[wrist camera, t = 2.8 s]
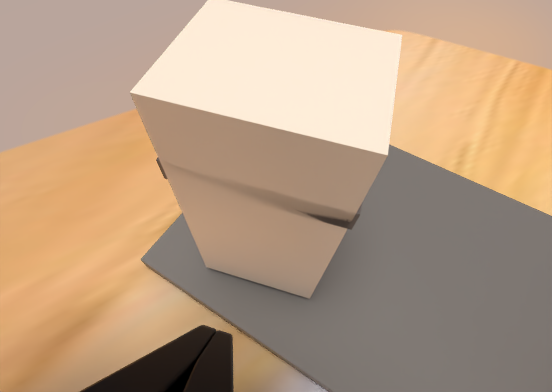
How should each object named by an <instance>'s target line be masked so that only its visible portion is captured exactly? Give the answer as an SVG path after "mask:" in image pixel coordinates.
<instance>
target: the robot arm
mask: <svg viewBox="0 0 552 392" xmlns="http://www.w3.org/2000/svg"><path fill="white" fill-rule="evenodd" d="M80 392H233V339H232V335H231V334H229V333H226V332H223V331H220V330H219V331H217V332H216V329H214V328H211V327H208V326H205V325H201V326H199V327H197V328H195V329H193V330H191V331H190V332H188V333H186V334H184V335H182V336H180V337H179V338H177V339H175V340H173V341H171V342H169V343H168V344H166V345H164V346H162V347H160V348H158V349H157V350H155V351H153V352H151V353H149V354H147V355H146V356H144V357H142V358H140V359H138V360H136V361H135V362H133V363H131V364H129V365H127V366H125V367H124V368H122V369H120V370H118V371H116V372H114V373H113V374H111V375H109V376H107V377H105V378H103V379H102V380H100V381H98V382H96V383H94V384H92V385H91V386H89V387H87V388H85V389H83V390H82V391H80Z"/></svg>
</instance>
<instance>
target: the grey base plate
mask: <svg viewBox="0 0 552 392" xmlns="http://www.w3.org/2000/svg"><path fill="white" fill-rule="evenodd" d="M141 261H142V262H143V263H144V264H145V265H146V266H147V267H148V268H150V269H151V270H153V271H154V272H156V273H157V274H159V275H160V276H162V277H163V278H164V279H166V280H167V281H169V282H170V283H172V284H173V285H175V286H176V287H178V288H179V289H180V290H182V291H183V292H185V293H186V294H188V295H189V296H191V297H192V298H194V299H195V300H196V301H198V302H199V303H201V304H202V305H204V306H205V307H207V308H208V309H210V310H211V311H212V312H214V313H215V314H217V315H218V316H220V317H221V318H223V319H224V320H226V321H227V322H228V323H230V324H231V325H233V326H234V327H236V328H237V329H239V330H240V331H242V332H243V333H244V334H246V335H247V336H249V337H250V338H252V339H253V340H255V341H256V342H258V343H259V344H260V345H262V346H263V347H265V348H266V349H268V350H269V351H271V352H272V353H274V354H275V355H276V356H278V357H279V358H281V359H282V360H284V361H285V362H287V363H288V364H290V365H291V366H292V367H294V368H295V369H297V370H298V371H300V372H301V373H303V374H304V375H306V376H307V377H308V378H310V379H311V380H313V381H314V382H316V383H317V384H319V385H320V386H322V387H323V388H324V389H326V390H327V391H329V392H552V216H550V215H548V214H546V213H543V212H541V211H539V210H537V209H534V208H532V207H530V206H528V205H525V204H523V203H521V202H518V201H516V200H514V199H512V198H509V197H507V196H505V195H503V194H500V193H498V192H496V191H494V190H491V189H489V188H487V187H484V186H482V185H480V184H478V183H475V182H473V181H471V180H469V179H466V178H464V177H462V176H459V175H457V174H455V173H453V172H450V171H448V170H446V169H444V168H441V167H439V166H437V165H435V164H432V163H430V162H428V161H425V160H423V159H421V158H419V157H416V156H414V155H412V154H410V153H407V152H405V151H403V150H401V149H398V148H396V147H394V146H391V145H389V149H388V156H387V158H386V159H385V161H384V163H383V165H382V167H381V169H380V170H379V172H378V174H377V176H376V178H375V180H374V182H373V183H372V185H371V187H370V189H369V191H368V193H367V194H366V196H365V198H364V200H363V202H362V207H361V213H360V216H359V218H358V220H357V221H356V223H355V225H354V227H353V228H352V230H350V229H347V231H346V233H345V235H344V237H343V238H342V240H341V242H340V244H339V246H338V248H337V249H336V251H335V253H334V255H333V257H332V259H331V260H330V262H329V264H328V266H327V268H326V270H325V271H324V273H323V275H322V277H321V279H320V281H319V282H318V284H317V286H316V288H315V290H314V292H313V293H312V295H311V297H310V299H309V298H305V297H302V296H299V295H296V294H292V293H289V292H286V291H283V290H279V289H276V288H273V287H270V286H266V285H263V284H260V283H257V282H253V281H250V280H247V279H243V278H240V277H237V276H234V275H230V274H227V273H224V272H221V271H217V270H214V269H211V268H208V267H206V265H205V263H204V261H203V258H202V256H201V254H200V252H199V249H198V247H197V245H196V242H195V240H194V238H193V236H192V233H191V231H190V229H189V226H188V224H187V222H186V220H185V217H184V215H183V213H182V214H181V215H180V216H179V217H178V218H177V220H176V221H175V222H174V223H173V224H172V225H171V226H170V227H169V228H168V229H167V231H166V232H165V233H164V234H163V235H162V236H161V237H160V238H159V239H158V241H157V242H156V243H155V244H154V245H153V246H152V247H151V248H150V249H149V251H148V252H147V253H146V254H145V255H144V256H143V257H142V258H141Z"/></svg>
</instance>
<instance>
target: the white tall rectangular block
mask: <svg viewBox="0 0 552 392" xmlns="http://www.w3.org/2000/svg"><path fill="white" fill-rule="evenodd" d="M401 40H402V35H400V34H395V33H389V32H384V31H379V30H374V29H369V28H364V27H359V26H354V25H349V24H344V23H339V22H333V21H329V20H323V19H319V18H314V17H308V16H303V15H298V14H293V13H288V12H283V11H278V10H273V9H268V8H262V7H258V6H253V5H248V4H242V3H238V2H232V1H227V0H208V1H207V2H206V3H205V4H204V6H203V7H202V8H201V9H200V10H199V11H198V13H197V14H196V15H195V16H194V17H193V19H192V20H191V21H190V22H189V23H188V24H187V26H186V27H185V28H184V29H183V30H182V32H181V33H180V34H179V35H178V36H177V37H176V39H175V40H174V41H173V42H172V43H171V44H170V46H169V47H168V48H167V49H166V50H165V52H164V53H163V54H162V55H161V56H160V57H159V59H158V60H157V61H156V62H155V63H154V65H153V66H152V67H151V68H150V69H149V70H148V72H147V73H146V74H145V75H144V76H143V78H142V79H141V80H140V81H139V82H138V83H137V84H136V86H135V87H134V88H133V89H132V90H131V92H130V94H131V96H132V99H133V101H134V103H135V106H136V108H137V110H138V112H139V115H140V117H141V119H142V122H143V124H144V126H145V128H146V131H147V133H148V135H149V138H150V140H151V142H152V144H153V147H154V149H155V151H156V153H157V156H158V158H157V159H156V161H157V163H158V165H159V167H160V170H161V172H162V174H163V176H164V178H165V179H168V181H169V183H170V185H171V188H172V190H173V192H174V195H175V197H176V199H177V201H178V204H179V206H180V208H181V210H182V213H183V215H184V217H185V220H186V222H187V224H188V226H189V229H190V231H191V233H192V236H193V238H194V240H195V242H196V245H197V247H198V249H199V252H200V254H201V256H202V258H203V261H204V263H205V265H206V267H208V268H211V269H214V270H217V271H221V272H224V273H227V274H230V275H234V276H237V277H240V278H243V279H247V280H250V281H253V282H257V283H260V284H263V285H266V286H270V287H273V288H276V289H279V290H283V291H286V292H289V293H292V294H296V295H299V296H302V297H305V298H309V299H310V297H311V295H312V293H313V292H314V290H315V288H316V286H317V284H318V282H319V281H320V279H321V277H322V275H323V273H324V271H325V270H326V268H327V266H328V264H329V262H330V260H331V259H332V257H333V255H334V253H335V251H336V249H337V248H338V246H339V244H340V242H341V240H342V238H343V237H344V235H345V233H346V231H347V229H350V230H352V228H353V227H354V225H355V223H356V221H357V220H358V218H359V216H360V213H361V207H362V202H363V200H364V198H365V196H366V194H367V193H368V191H369V189H370V187H371V185H372V183H373V182H374V180H375V178H376V176H377V174H378V172H379V170H380V169H381V167H382V165H383V163H384V161H385V159H386V158H387V156H388V149H389V141H390V133H391V124H392V116H393V107H394V99H395V91H396V82H397V74H398V65H399V57H400V49H401Z"/></svg>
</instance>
